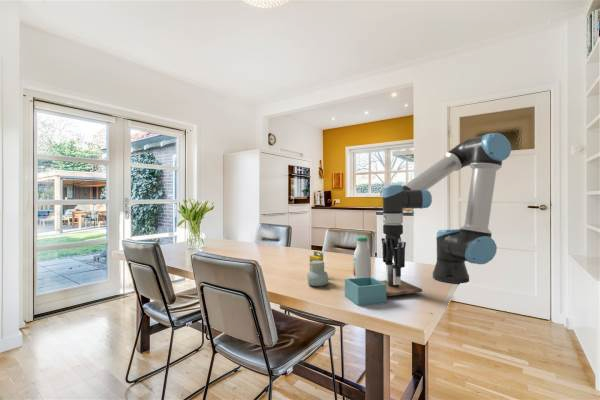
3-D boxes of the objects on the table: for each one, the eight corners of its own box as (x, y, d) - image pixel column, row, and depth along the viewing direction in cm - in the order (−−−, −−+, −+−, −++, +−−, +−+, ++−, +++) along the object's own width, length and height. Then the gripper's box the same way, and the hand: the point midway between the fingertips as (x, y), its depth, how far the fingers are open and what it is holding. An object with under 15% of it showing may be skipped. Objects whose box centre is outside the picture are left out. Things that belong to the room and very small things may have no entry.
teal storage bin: (370, 294, 117) (370, 276, 117) (386, 304, 107) (386, 284, 107) (344, 297, 114) (344, 278, 114) (358, 307, 104) (358, 287, 104)
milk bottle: (374, 281, 136) (374, 237, 136) (365, 285, 130) (365, 238, 130) (359, 278, 141) (359, 235, 141) (350, 281, 135) (350, 237, 135)
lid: (398, 281, 129) (398, 260, 129) (422, 291, 114) (422, 268, 114) (367, 284, 125) (367, 263, 125) (387, 296, 110) (387, 271, 110)
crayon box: (309, 275, 147) (309, 251, 146) (314, 274, 148) (314, 251, 148) (318, 278, 141) (318, 253, 140) (323, 277, 142) (323, 253, 142)
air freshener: (328, 288, 126) (328, 264, 126) (309, 288, 125) (309, 264, 125) (325, 281, 137) (324, 259, 136) (306, 281, 136) (306, 259, 136)
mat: (398, 285, 129) (398, 284, 129) (423, 297, 114) (423, 296, 114) (364, 288, 125) (364, 287, 125) (386, 301, 110) (386, 300, 110)
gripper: (373, 222, 126) (374, 278, 127) (397, 226, 110) (398, 290, 110) (389, 222, 128) (389, 276, 129) (414, 225, 112) (415, 288, 112)
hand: (393, 282), depth 119 cm, fingers closed on lid, 4 cm apart
